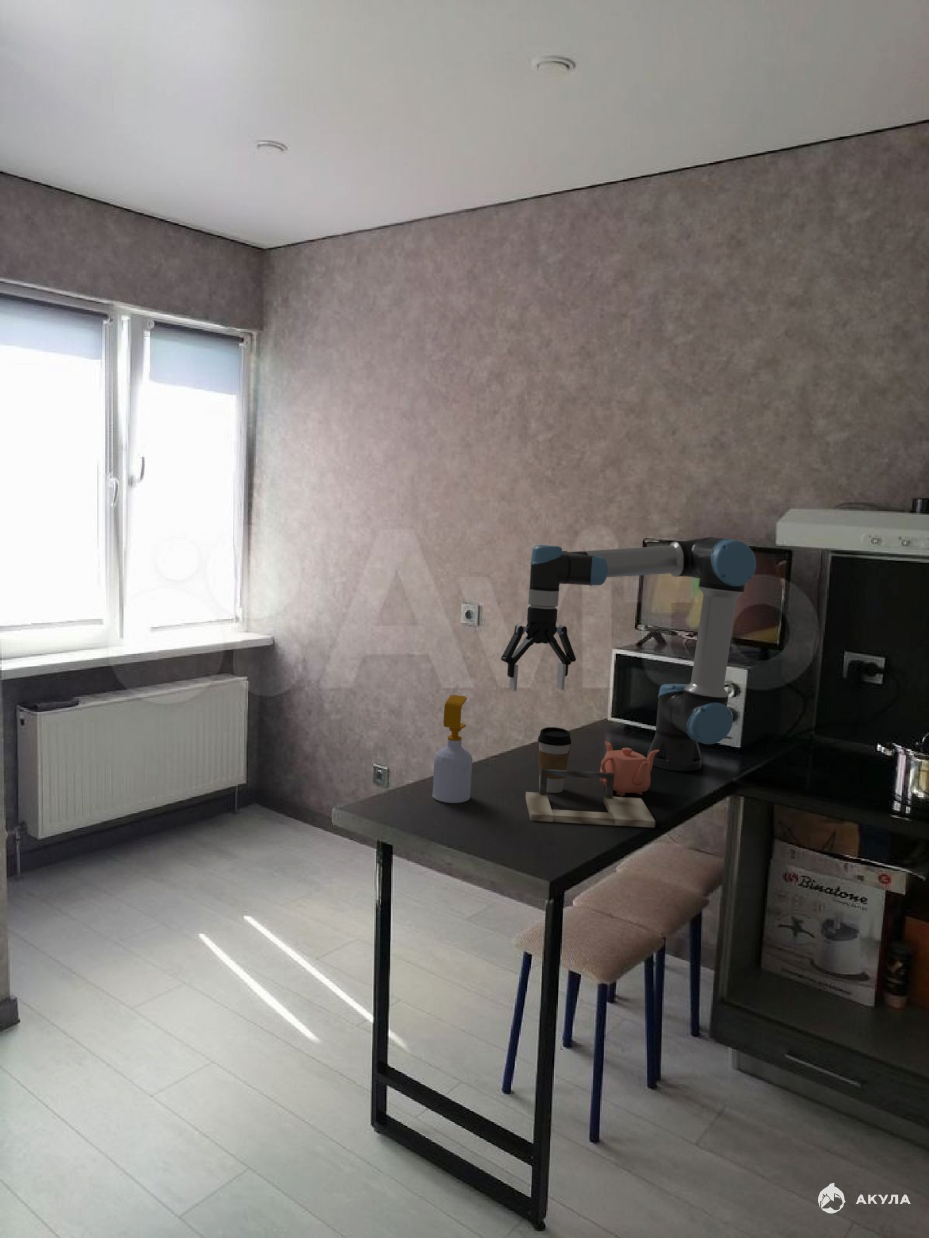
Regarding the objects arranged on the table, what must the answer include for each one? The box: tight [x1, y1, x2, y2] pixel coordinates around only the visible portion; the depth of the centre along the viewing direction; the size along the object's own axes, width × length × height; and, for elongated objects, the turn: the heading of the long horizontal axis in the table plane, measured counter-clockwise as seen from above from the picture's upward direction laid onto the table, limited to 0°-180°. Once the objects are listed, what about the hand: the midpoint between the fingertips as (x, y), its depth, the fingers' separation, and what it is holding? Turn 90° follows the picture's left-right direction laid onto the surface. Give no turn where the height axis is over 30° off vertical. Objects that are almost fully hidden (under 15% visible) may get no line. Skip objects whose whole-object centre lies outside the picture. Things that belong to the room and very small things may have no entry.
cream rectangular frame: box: [525, 769, 656, 828], centre depth 212 cm, size 28×16×8 cm, turn 90°
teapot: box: [599, 740, 659, 797], centre depth 230 cm, size 14×14×11 cm
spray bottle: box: [431, 694, 473, 804], centre depth 216 cm, size 9×9×25 cm
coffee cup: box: [537, 726, 572, 794], centre depth 228 cm, size 8×8×15 cm
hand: (536, 689), depth 232 cm, fingers open, 13 cm apart
